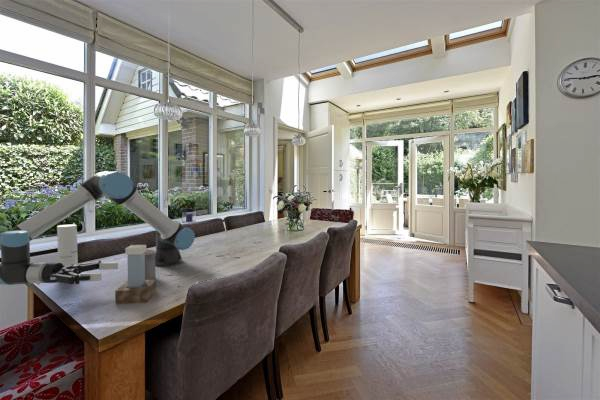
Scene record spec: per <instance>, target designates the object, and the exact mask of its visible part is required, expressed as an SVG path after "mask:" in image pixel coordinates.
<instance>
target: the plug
mask: <svg viewBox="0 0 600 400" xmlns="http://www.w3.org/2000/svg"><path fill="white" fill-rule="evenodd" d="M146 250H147V244H130V245H129V246H127V247H125V252H124V253H125V255H126V256H127V281H128V288H135V287H143V286H144V285H145V251H146Z"/></svg>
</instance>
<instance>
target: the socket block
mask: <svg viewBox="0 0 600 400" xmlns="http://www.w3.org/2000/svg"><path fill="white" fill-rule="evenodd" d="M156 292H157V279H155V280H145V285H144V286H143V287H135V288H128V280H126V281H125V282H124V283H122V284H121V285H120V286H119V287H118V288H116V289H115V292H114V294H115V295H114V298H115V305H118V304H119V305H120V304H138V303H142V304H143V303H148V302H149V300H151V298H153V296H154V295H155V293H156Z"/></svg>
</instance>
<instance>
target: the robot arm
mask: <svg viewBox="0 0 600 400" xmlns="http://www.w3.org/2000/svg"><path fill="white" fill-rule="evenodd" d="M138 188H139V187H137V185H135V184H134V183H133V180H132V179H131V177H130V176H129V175H127V174H126V173H123V172H122V171H121V172H120V171H116V170H112V171H99V172H97V173H95V174H93V176H91V177H89V178H88V179H87V180H84V181H83V182H81V183H80V184H78V186H77V189H75V190H73V191H72V192H70V193H68V194H66V195H65V196H64V197H62V198H61V199H58V200H57V201H55V202H53V203H52V204H50V205H48V206H47V207H45V208H43V209H42V210H41V211H39V212H37V213H35V214H34V215H32V216H31V217H28V218H27V219H25V220H24V221H22V222H21V223H19V224H17V225H16V226H14V227H12V228H10V229H9V230H6V231H3V232H0V258H1V264H0V285H7V286H14V285H30V284H32V285H33V284H36V285H38V286H39V285H40V284H56V283H62V284H68V285H74V284H75V285H79V284H80V283H81V282H99V281H102V279H103V278H102V272H90V273H89V271H94V270H98V271H99V270H101V271H102V270H103V271H104V270H118V268H119V264H118V261H116V262H115V261H114V262H113V261H111V262H102V261H101V260H98V261H92V262H91V261H90V262H84V263H83V262H81V263H78V264H71V266H66V267H64V266H63V264H62V263H60V262H58V261H57V262H31V253H30V252H31V250H30V249H31V248H30V247H31V246H30V242H31V241H33V240H34V239H35V238H37V237H39V236H40V235H41V234H43V233H44V232H46V231H48V230H49V229H51V228H52V227H54V226H55V225H57V224H59V223H60V222H61V221H63V220H65V219H67V218H68V217H70V216H71V215H72V214H73V213H76V212H77V211H79V210H80V209H82V208H84V207H85V206H86V205H88V204H89V203H95V202H97V201H98V200H100V199H103V198H107V199H109V200H110V201H111V202H112V203H114V204H115V205H117V206H123V207H125V208H126V209H127V210H129V211H130V212H132V213H133V214H134V215H135V216H137V217H138V218H139V219H140V220H142V221H144V222H145V224H147V225H148V226H149V227H151V228H152V229H154V230H155V267H171V266H175V265H178V264H181V263H182V262H183V261H182V260H183V258H182V255H181V252H180V250H182V251H184V250H188V249H190V247H192V246H193V244H194V242H195V232H194V231H193V230H192V229H191V228H189V227H185V226H184V225H183V224H182V223H181V222H180V221H178V220H172V219H171V218H170V217H169V216H167V215H166V213H164V212H163V211H162V210H160V209H159V208H158V207H157V206H156V205H155V204H154V203H152V202H151V201H149V200H148V199H147V198H146V197H145V196H143V194H141V193H140V192H139V191H138ZM77 271H78V272H77ZM83 272H84V273H83ZM86 272H88V273H86Z"/></svg>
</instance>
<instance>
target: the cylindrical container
mask: <svg viewBox="0 0 600 400" xmlns="http://www.w3.org/2000/svg"><path fill="white" fill-rule="evenodd" d="M56 231H57V232H56V233H57V260H58V261H57V262H60V263H62V264H63V266H64V267H66V266H71V264H79V262H78V255H79V254H78V226H77V224H60V225H59V224H58V225H57V226H56ZM77 272H78V271H77Z"/></svg>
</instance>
